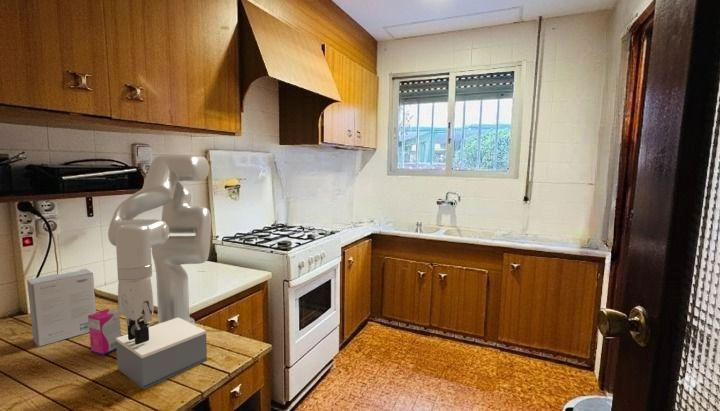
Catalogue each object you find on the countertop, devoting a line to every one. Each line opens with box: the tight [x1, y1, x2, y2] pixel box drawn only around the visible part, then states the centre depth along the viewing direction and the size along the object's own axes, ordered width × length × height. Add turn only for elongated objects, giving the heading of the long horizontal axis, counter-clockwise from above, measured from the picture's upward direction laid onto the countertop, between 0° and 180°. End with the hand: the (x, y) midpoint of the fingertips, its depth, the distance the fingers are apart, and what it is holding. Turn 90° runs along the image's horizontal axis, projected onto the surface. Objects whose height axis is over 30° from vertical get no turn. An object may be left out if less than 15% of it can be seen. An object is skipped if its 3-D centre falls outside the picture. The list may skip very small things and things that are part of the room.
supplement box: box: [88, 308, 122, 357], centre depth 108 cm, size 6×6×12 cm
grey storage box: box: [116, 333, 208, 390], centre depth 100 cm, size 15×17×8 cm
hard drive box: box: [26, 268, 97, 348], centre depth 117 cm, size 16×8×20 cm, turn 141°
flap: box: [116, 317, 207, 358], centre depth 100 cm, size 15×17×6 cm
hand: (138, 339), depth 95 cm, fingers closed on flap, 3 cm apart
